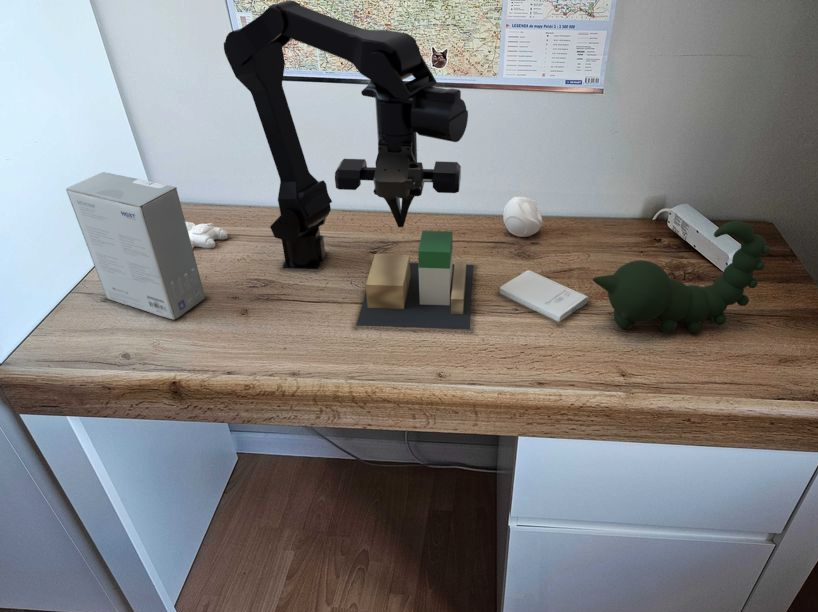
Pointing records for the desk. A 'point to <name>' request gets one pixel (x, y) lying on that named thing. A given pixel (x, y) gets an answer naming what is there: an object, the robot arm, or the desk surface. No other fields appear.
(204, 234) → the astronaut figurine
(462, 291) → the ash rail
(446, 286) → the block
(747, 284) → the toy figurine
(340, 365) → the desk surface
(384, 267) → the birch block
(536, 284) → the hard drive
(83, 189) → the hard drive box
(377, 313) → the desk mat
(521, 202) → the white ball
